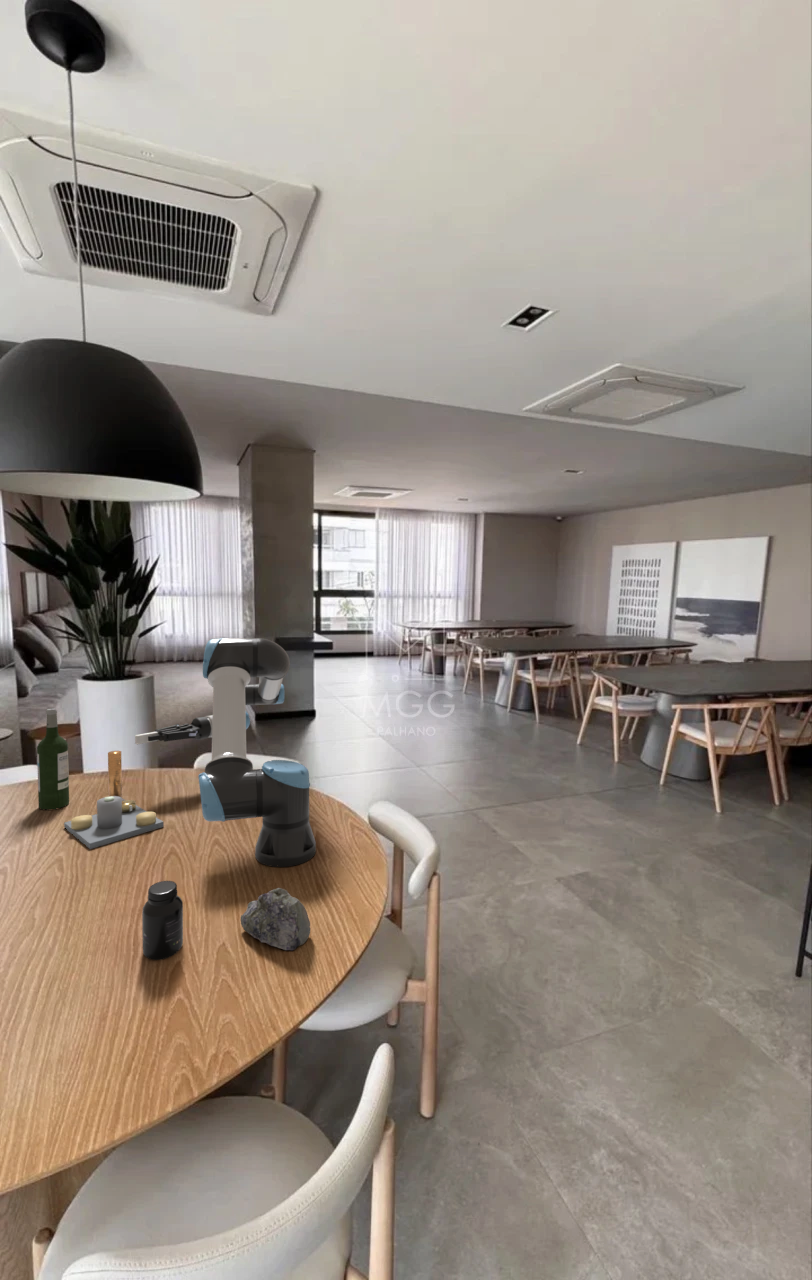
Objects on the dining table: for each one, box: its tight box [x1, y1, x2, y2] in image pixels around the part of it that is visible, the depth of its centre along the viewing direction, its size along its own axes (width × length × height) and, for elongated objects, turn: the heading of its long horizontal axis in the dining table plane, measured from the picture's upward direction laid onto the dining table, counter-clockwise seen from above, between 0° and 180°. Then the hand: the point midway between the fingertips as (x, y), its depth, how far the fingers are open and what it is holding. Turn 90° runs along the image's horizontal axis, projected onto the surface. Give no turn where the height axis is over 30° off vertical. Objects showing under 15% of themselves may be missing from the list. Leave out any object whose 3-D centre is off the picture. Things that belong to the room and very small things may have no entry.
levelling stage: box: [63, 796, 165, 850], centre depth 152 cm, size 19×19×9 cm
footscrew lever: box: [107, 750, 137, 812], centre depth 162 cm, size 13×5×16 cm, turn 49°
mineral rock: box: [240, 887, 311, 951], centre depth 105 cm, size 13×11×10 cm
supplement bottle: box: [141, 880, 184, 961], centre depth 100 cm, size 7×7×12 cm
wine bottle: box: [36, 708, 70, 810], centre depth 166 cm, size 8×8×30 cm
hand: (136, 739), depth 170 cm, fingers closed
